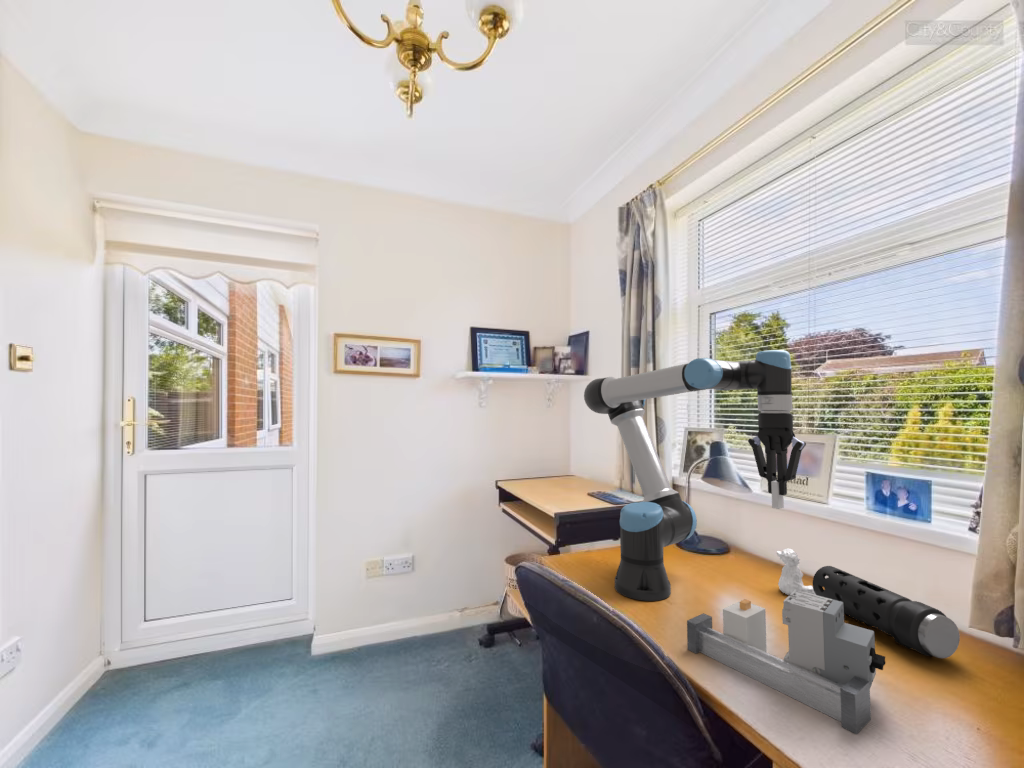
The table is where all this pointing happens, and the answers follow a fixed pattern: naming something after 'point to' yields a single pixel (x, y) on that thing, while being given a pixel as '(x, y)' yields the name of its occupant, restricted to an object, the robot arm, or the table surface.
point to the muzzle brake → (890, 612)
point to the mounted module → (746, 623)
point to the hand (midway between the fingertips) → (777, 507)
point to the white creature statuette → (792, 574)
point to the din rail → (784, 675)
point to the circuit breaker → (828, 640)
